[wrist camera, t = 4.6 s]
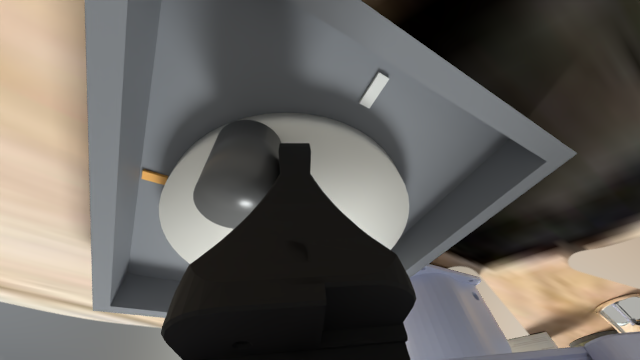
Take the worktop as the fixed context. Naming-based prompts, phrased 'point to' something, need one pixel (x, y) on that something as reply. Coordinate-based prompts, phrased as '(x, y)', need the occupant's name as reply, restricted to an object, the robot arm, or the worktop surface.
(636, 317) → the beer glass
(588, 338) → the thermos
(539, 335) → the supplement box
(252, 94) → the bezel plate
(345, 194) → the dial
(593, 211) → the worktop surface
